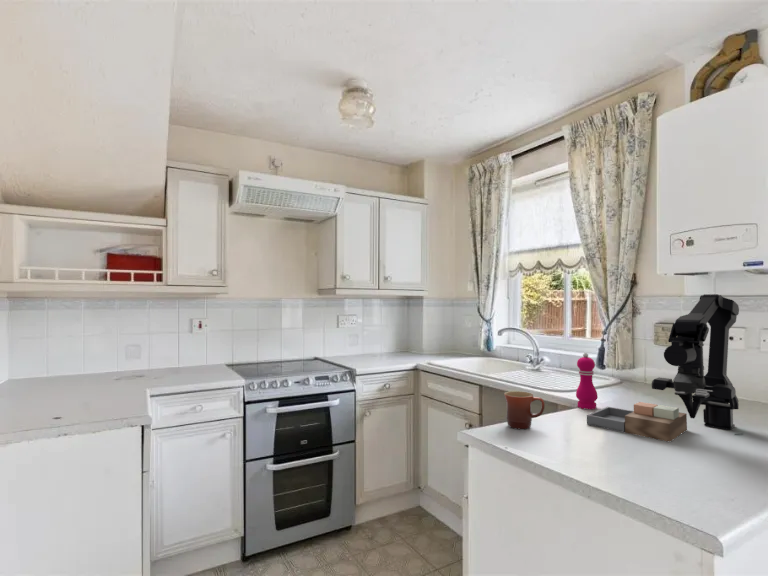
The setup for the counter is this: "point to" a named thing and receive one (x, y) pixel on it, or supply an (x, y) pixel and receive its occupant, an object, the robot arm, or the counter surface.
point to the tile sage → (666, 412)
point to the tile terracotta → (644, 408)
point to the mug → (521, 409)
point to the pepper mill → (586, 383)
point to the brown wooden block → (655, 426)
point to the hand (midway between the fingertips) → (692, 418)
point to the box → (609, 418)
